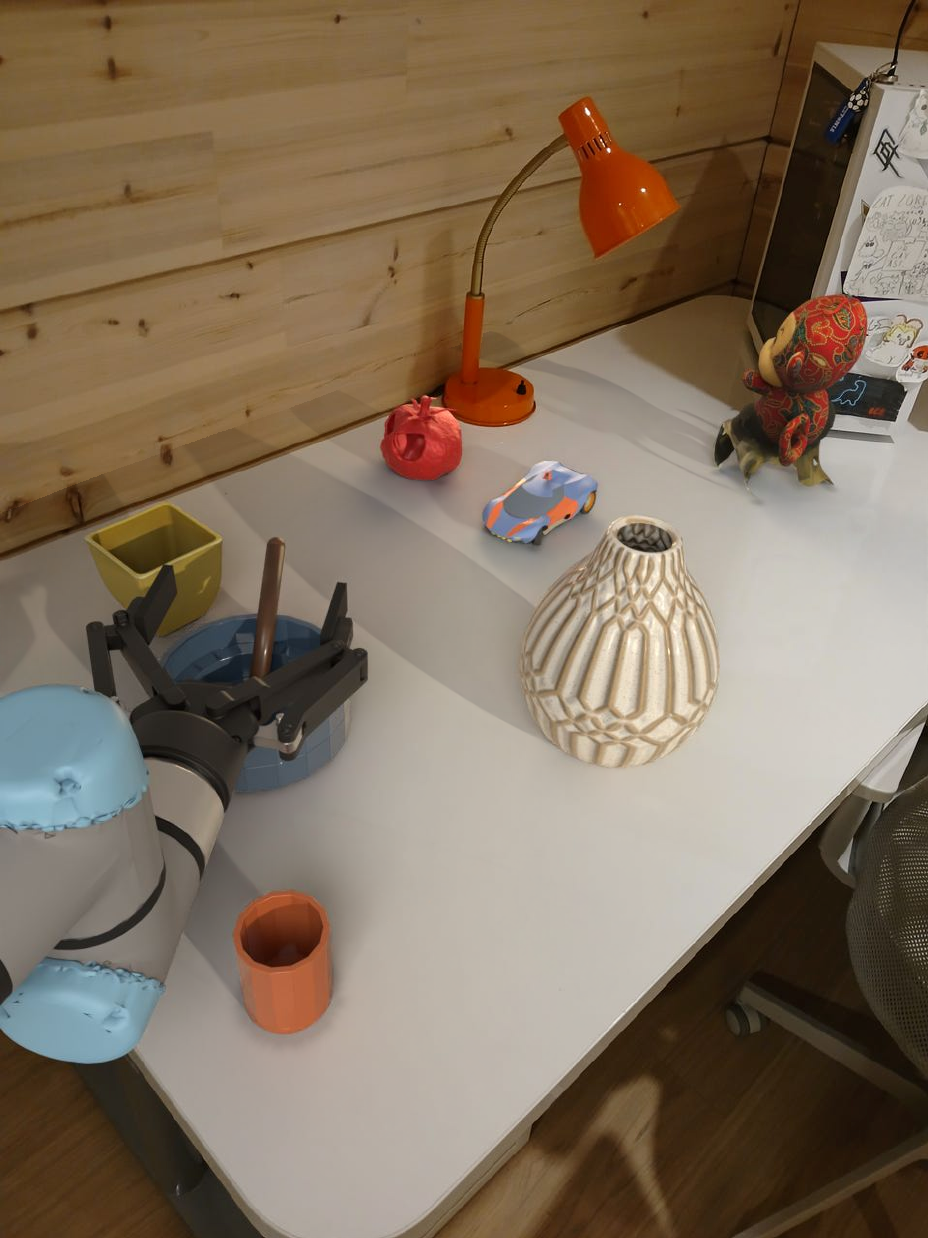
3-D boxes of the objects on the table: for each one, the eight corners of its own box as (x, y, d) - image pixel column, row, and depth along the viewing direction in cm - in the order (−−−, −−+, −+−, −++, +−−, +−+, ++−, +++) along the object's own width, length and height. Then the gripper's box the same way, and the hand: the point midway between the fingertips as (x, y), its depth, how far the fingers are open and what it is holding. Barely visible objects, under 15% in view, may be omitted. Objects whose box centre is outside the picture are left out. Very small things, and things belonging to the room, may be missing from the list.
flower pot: (153, 659, 86) (138, 578, 80) (100, 614, 90) (82, 534, 85) (234, 616, 91) (225, 537, 85) (180, 576, 95) (167, 499, 90)
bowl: (135, 785, 74) (122, 731, 71) (196, 657, 86) (187, 605, 83) (329, 806, 74) (327, 753, 70) (363, 675, 86) (363, 622, 82)
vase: (641, 652, 90) (684, 465, 78) (734, 774, 79) (802, 579, 66) (484, 686, 85) (502, 492, 73) (558, 821, 74) (595, 619, 61)
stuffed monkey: (838, 447, 121) (917, 271, 101) (823, 541, 112) (906, 368, 92) (720, 419, 124) (774, 242, 104) (695, 508, 114) (749, 333, 94)
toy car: (465, 532, 104) (468, 490, 101) (542, 480, 114) (547, 440, 111) (526, 561, 101) (531, 518, 97) (600, 505, 110) (607, 464, 107)
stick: (239, 721, 79) (264, 534, 82) (250, 724, 80) (273, 540, 83) (256, 722, 78) (280, 534, 81) (266, 725, 80) (290, 540, 83)
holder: (233, 1029, 60) (221, 967, 55) (256, 948, 64) (248, 885, 60) (322, 1040, 60) (317, 979, 55) (339, 957, 64) (337, 894, 60)
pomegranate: (436, 439, 120) (439, 369, 114) (477, 477, 114) (483, 404, 108) (365, 456, 116) (364, 384, 110) (403, 496, 109) (404, 422, 104)
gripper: (-19, 813, 61) (107, 609, 78) (369, 856, 60) (413, 640, 77) (-51, 730, 57) (90, 531, 73) (368, 775, 56) (415, 564, 72)
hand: (256, 587), depth 75 cm, fingers open, 13 cm apart
